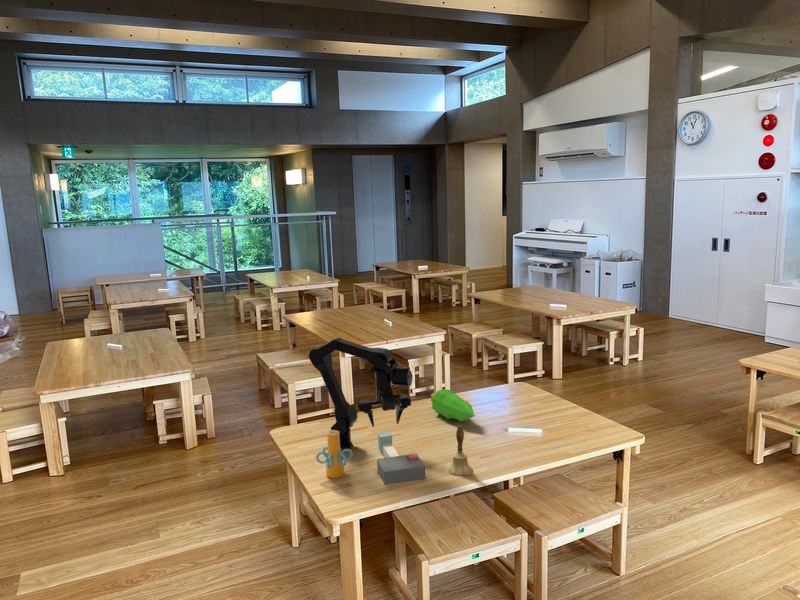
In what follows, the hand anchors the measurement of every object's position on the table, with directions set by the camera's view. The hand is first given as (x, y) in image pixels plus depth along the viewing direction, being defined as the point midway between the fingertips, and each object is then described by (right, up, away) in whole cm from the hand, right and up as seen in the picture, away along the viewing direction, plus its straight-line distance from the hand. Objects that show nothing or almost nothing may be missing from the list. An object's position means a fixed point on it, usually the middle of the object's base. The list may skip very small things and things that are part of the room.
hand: (385, 425), depth 219 cm
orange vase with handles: (-17, -14, -16) cm, 27 cm away
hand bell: (+26, -12, -16) cm, 33 cm away
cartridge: (+2, -11, -5) cm, 12 cm away
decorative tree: (+27, -4, +31) cm, 41 cm away
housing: (+6, -13, -18) cm, 23 cm away
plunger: (+10, -12, -15) cm, 22 cm away
